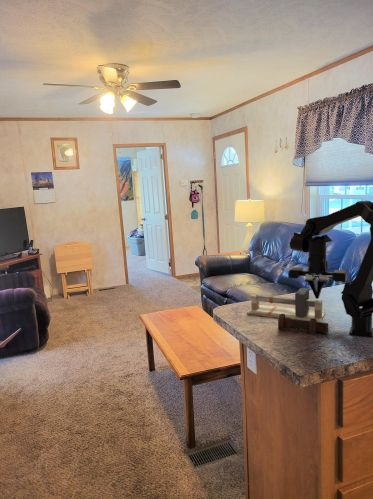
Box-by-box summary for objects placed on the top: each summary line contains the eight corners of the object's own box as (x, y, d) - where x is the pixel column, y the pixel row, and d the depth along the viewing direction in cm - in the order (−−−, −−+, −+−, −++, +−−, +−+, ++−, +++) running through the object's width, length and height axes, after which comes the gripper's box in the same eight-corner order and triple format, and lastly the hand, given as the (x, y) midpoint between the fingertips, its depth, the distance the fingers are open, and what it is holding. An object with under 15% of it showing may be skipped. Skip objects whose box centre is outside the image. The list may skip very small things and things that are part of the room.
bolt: (327, 340, 117) (278, 333, 123) (328, 327, 121) (281, 322, 127) (327, 328, 114) (277, 322, 120) (328, 315, 117) (279, 310, 123)
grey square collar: (304, 317, 130) (304, 294, 129) (295, 316, 132) (295, 293, 130) (309, 310, 137) (309, 288, 136) (300, 309, 138) (300, 288, 137)
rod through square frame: (320, 322, 127) (320, 305, 126) (247, 313, 140) (246, 297, 139) (325, 313, 135) (325, 296, 134) (256, 305, 148) (255, 290, 147)
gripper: (349, 251, 130) (349, 294, 133) (295, 249, 140) (295, 290, 142) (345, 257, 121) (344, 303, 124) (287, 254, 130) (288, 298, 133)
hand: (317, 298), depth 131 cm, fingers closed
